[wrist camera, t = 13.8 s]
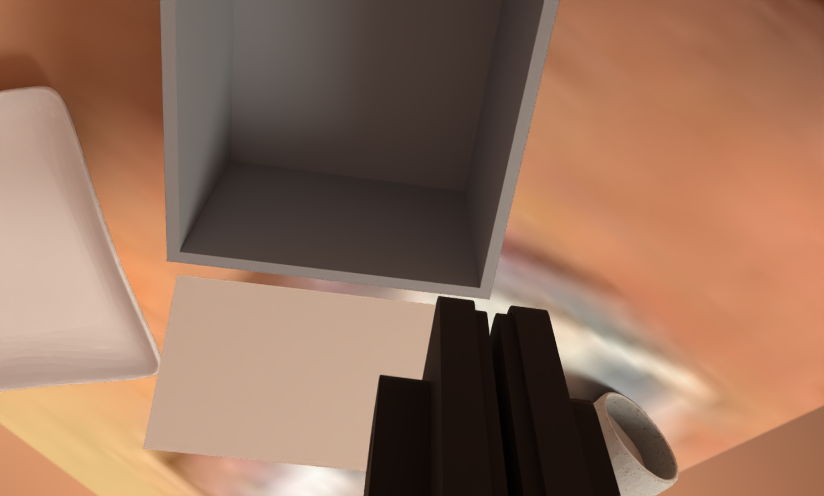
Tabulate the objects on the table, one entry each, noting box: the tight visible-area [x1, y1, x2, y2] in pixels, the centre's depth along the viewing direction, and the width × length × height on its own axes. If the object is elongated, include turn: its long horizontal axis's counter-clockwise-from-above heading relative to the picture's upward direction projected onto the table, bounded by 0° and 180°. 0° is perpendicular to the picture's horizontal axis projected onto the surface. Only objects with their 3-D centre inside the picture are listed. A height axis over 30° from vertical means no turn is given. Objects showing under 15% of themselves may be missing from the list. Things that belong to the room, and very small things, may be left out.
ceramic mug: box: [593, 392, 679, 496], centre depth 54 cm, size 11×8×8 cm
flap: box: [143, 274, 436, 471], centre depth 35 cm, size 15×8×1 cm
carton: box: [160, 0, 559, 300], centre depth 37 cm, size 16×18×12 cm
